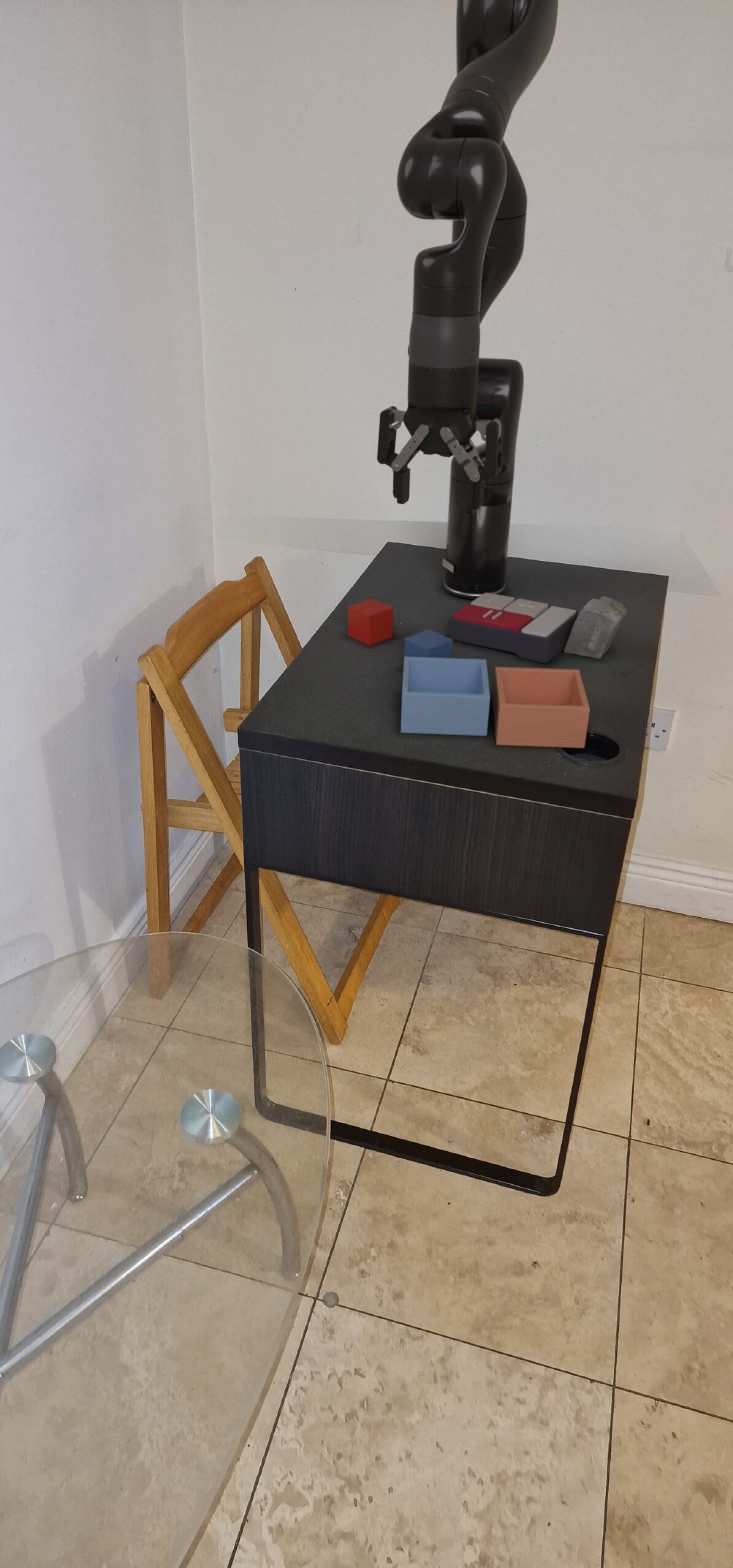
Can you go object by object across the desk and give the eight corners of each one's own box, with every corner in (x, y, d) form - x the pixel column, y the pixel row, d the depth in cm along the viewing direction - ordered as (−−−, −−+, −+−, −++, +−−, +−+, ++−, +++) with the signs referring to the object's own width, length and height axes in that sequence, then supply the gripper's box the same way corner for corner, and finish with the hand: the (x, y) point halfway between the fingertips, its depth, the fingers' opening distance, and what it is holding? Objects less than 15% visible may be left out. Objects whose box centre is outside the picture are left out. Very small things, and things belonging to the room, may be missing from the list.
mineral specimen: (556, 658, 135) (565, 597, 132) (572, 647, 142) (581, 589, 139) (612, 667, 132) (622, 605, 129) (625, 655, 139) (635, 596, 137)
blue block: (403, 669, 133) (404, 638, 131) (427, 659, 136) (428, 629, 133) (427, 680, 130) (428, 649, 128) (451, 670, 133) (453, 639, 130)
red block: (347, 635, 142) (348, 606, 139) (371, 627, 144) (371, 598, 142) (369, 645, 139) (369, 615, 137) (392, 637, 142) (393, 607, 139)
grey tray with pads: (484, 589, 147) (581, 606, 140) (483, 617, 149) (579, 636, 142) (447, 613, 139) (548, 633, 132) (446, 643, 142) (546, 664, 134)
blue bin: (402, 693, 127) (404, 656, 124) (483, 696, 127) (486, 659, 124) (400, 733, 119) (401, 693, 116) (486, 736, 118) (490, 696, 116)
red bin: (492, 704, 125) (495, 666, 122) (574, 707, 125) (579, 669, 122) (496, 745, 117) (499, 705, 114) (584, 748, 116) (590, 708, 113)
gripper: (518, 357, 110) (505, 506, 118) (395, 346, 114) (392, 490, 123) (496, 370, 104) (485, 526, 113) (368, 358, 109) (367, 508, 118)
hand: (436, 507), depth 118 cm, fingers open, 8 cm apart
